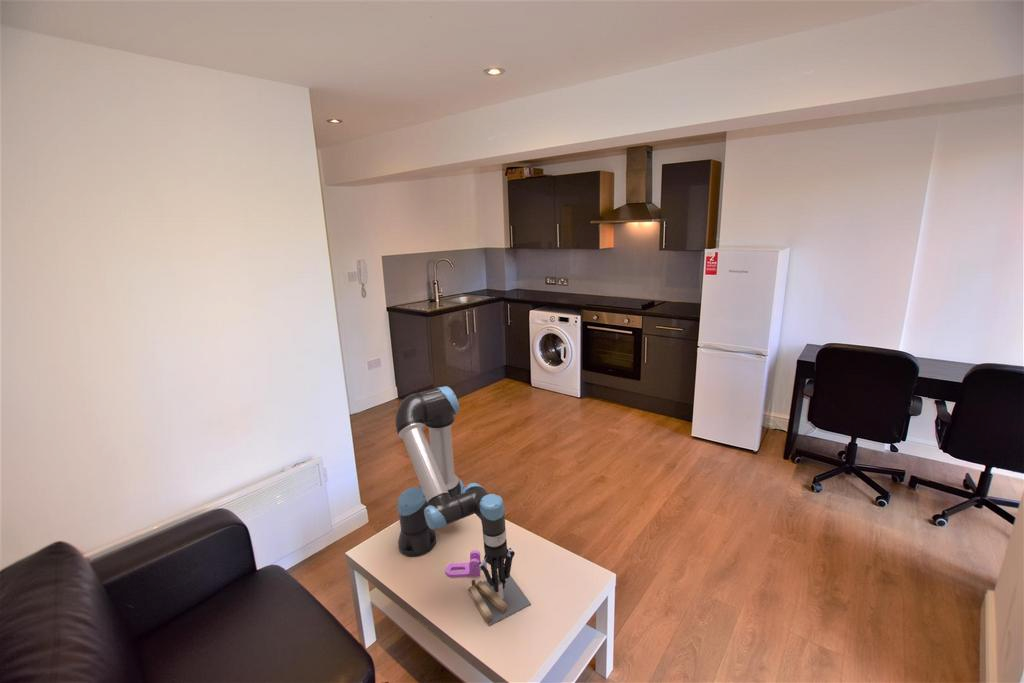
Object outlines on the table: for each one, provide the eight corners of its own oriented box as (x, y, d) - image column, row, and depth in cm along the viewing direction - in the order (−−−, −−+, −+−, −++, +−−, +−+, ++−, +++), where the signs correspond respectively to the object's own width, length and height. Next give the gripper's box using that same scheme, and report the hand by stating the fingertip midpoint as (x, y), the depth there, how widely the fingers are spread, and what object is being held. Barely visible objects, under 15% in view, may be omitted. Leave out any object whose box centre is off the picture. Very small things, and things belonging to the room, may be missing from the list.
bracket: (480, 564, 174) (479, 549, 171) (480, 576, 168) (479, 561, 166) (446, 566, 173) (445, 551, 171) (444, 578, 168) (443, 562, 166)
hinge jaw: (476, 589, 162) (475, 583, 161) (480, 585, 163) (480, 580, 162) (502, 613, 152) (502, 607, 151) (507, 609, 153) (506, 603, 152)
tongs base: (467, 590, 162) (466, 582, 161) (475, 586, 163) (474, 579, 162) (486, 623, 149) (486, 615, 148) (495, 619, 150) (494, 611, 149)
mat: (467, 589, 162) (467, 589, 162) (507, 571, 170) (507, 570, 170) (489, 626, 148) (489, 625, 148) (531, 604, 155) (531, 603, 155)
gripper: (482, 555, 143) (488, 613, 150) (517, 538, 149) (521, 595, 156) (472, 540, 150) (478, 597, 157) (506, 525, 156) (510, 581, 163)
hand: (500, 596), depth 156 cm, fingers closed
